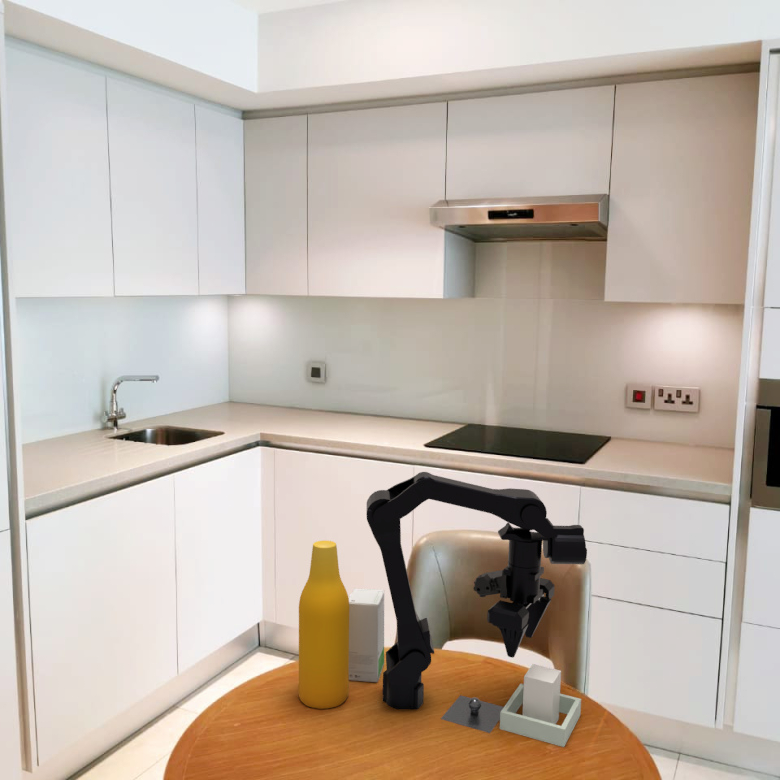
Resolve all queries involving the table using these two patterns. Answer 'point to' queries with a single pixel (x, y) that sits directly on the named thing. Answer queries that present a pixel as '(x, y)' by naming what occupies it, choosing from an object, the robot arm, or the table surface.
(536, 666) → the grey tall block
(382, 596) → the skincare box
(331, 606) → the beer bottle
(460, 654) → the table surface
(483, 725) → the stud plate
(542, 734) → the bin
